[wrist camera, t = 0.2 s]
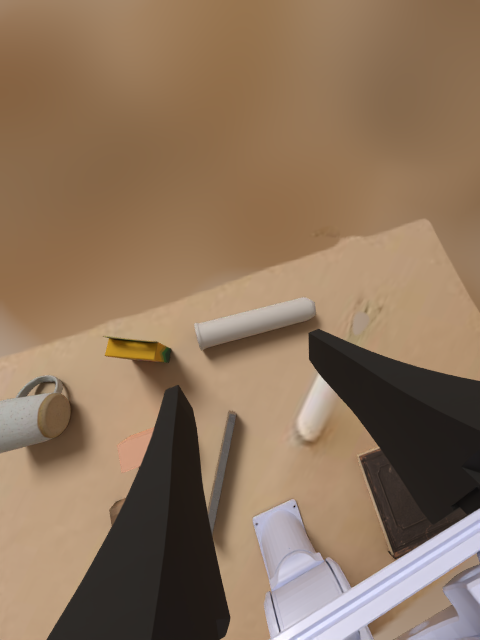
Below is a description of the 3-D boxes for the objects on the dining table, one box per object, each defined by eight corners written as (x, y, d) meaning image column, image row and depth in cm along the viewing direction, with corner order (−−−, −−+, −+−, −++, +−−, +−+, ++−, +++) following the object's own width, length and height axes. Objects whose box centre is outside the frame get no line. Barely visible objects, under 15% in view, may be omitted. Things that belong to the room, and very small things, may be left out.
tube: (311, 289, 43) (192, 318, 39) (324, 309, 40) (198, 342, 36) (304, 304, 48) (197, 332, 43) (315, 323, 45) (202, 355, 41)
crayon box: (130, 360, 40) (95, 354, 29) (133, 344, 40) (100, 333, 29) (169, 363, 40) (150, 359, 29) (172, 348, 41) (154, 339, 30)
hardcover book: (352, 452, 40) (360, 456, 38) (448, 416, 43) (460, 419, 41) (386, 550, 36) (397, 562, 34) (487, 503, 40) (503, 511, 38)
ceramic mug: (75, 431, 36) (38, 445, 29) (22, 445, 35) (-31, 463, 27) (73, 370, 39) (38, 369, 31) (24, 381, 37) (-24, 382, 30)
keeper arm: (236, 412, 39) (237, 416, 35) (211, 533, 34) (210, 553, 30) (227, 410, 39) (228, 414, 35) (202, 531, 34) (199, 551, 30)
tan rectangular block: (186, 440, 37) (181, 450, 33) (135, 459, 36) (121, 473, 31) (180, 417, 38) (175, 424, 33) (130, 435, 37) (117, 445, 32)
